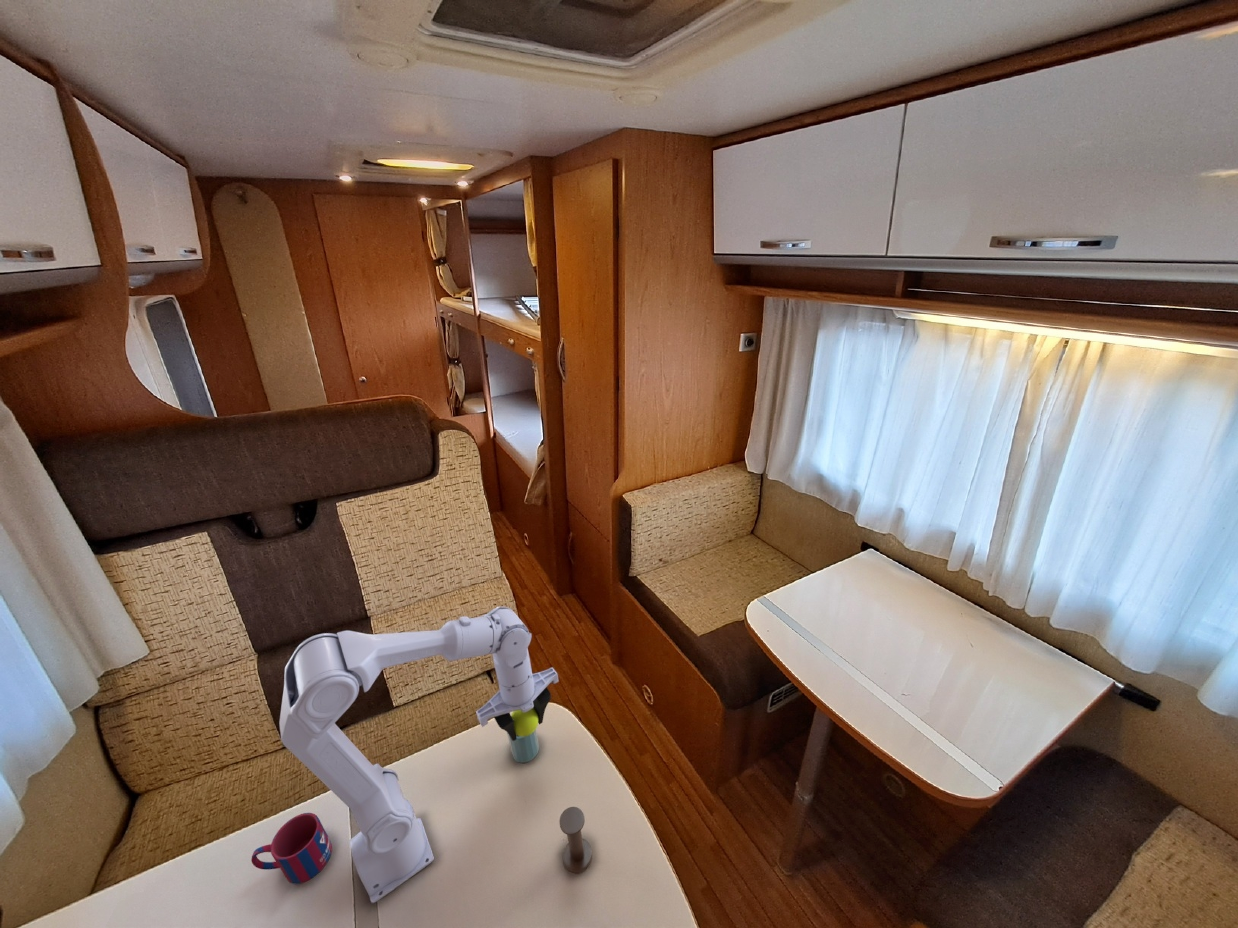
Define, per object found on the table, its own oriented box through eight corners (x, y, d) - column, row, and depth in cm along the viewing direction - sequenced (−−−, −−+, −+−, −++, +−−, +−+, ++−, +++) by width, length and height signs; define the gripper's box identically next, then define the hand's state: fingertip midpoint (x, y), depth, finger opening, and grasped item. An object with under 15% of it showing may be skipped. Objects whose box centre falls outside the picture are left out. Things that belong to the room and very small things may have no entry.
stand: (573, 880, 75) (566, 843, 70) (558, 853, 78) (551, 816, 74) (597, 859, 77) (592, 822, 73) (582, 833, 80) (576, 797, 76)
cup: (324, 877, 77) (310, 853, 74) (255, 894, 75) (238, 870, 72) (337, 832, 83) (325, 807, 80) (274, 847, 81) (259, 822, 78)
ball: (519, 748, 84) (515, 729, 82) (507, 727, 88) (503, 708, 86) (544, 732, 87) (541, 712, 85) (532, 712, 91) (528, 693, 88)
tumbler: (519, 768, 91) (513, 743, 88) (507, 747, 95) (502, 723, 92) (543, 751, 94) (539, 727, 91) (531, 732, 98) (526, 708, 95)
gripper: (482, 713, 75) (496, 769, 80) (563, 666, 82) (571, 720, 88) (466, 683, 80) (480, 738, 86) (544, 642, 87) (552, 694, 93)
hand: (525, 727), depth 87 cm, fingers closed on ball, 4 cm apart
